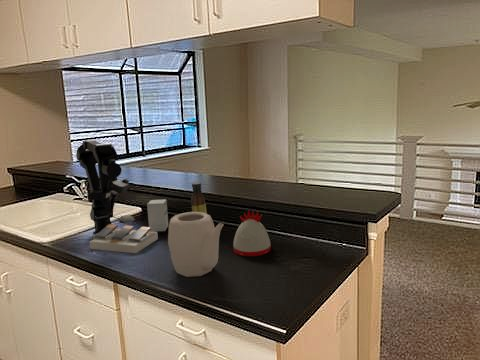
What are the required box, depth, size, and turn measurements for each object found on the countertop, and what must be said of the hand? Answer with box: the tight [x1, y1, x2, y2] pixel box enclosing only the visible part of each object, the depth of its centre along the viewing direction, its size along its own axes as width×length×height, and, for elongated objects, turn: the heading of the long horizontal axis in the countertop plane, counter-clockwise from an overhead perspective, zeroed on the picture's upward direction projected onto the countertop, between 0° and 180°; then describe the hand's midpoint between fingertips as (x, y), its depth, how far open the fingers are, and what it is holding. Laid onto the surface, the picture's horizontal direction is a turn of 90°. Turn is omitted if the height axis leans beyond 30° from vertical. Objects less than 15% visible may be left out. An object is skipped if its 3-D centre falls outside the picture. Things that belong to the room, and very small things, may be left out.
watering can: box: [167, 211, 224, 278], centre depth 131 cm, size 16×27×19 cm, turn 47°
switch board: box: [89, 228, 159, 254], centre depth 163 cm, size 23×16×4 cm
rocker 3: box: [129, 226, 151, 241], centre depth 159 cm, size 4×9×2 cm, turn 161°
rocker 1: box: [94, 223, 119, 238], centre depth 165 cm, size 4×9×2 cm, turn 160°
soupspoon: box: [119, 214, 136, 224], centre depth 200 cm, size 22×3×7 cm
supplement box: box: [146, 198, 169, 232], centre depth 179 cm, size 7×7×13 cm
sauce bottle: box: [190, 181, 208, 214], centre depth 179 cm, size 6×6×20 cm
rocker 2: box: [112, 224, 135, 239], centre depth 162 cm, size 4×9×2 cm, turn 160°
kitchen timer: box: [232, 210, 272, 257], centre depth 150 cm, size 14×14×15 cm
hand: (110, 211), depth 166 cm, fingers closed
